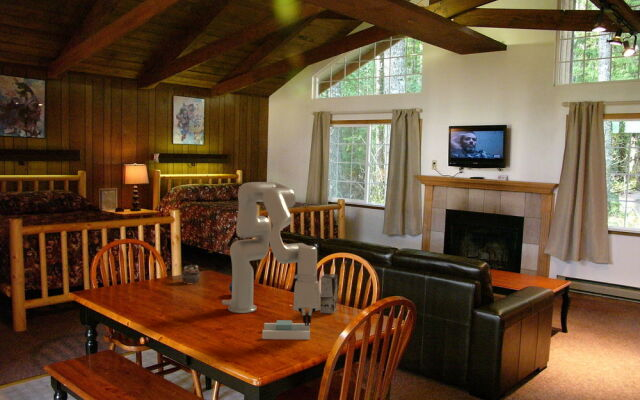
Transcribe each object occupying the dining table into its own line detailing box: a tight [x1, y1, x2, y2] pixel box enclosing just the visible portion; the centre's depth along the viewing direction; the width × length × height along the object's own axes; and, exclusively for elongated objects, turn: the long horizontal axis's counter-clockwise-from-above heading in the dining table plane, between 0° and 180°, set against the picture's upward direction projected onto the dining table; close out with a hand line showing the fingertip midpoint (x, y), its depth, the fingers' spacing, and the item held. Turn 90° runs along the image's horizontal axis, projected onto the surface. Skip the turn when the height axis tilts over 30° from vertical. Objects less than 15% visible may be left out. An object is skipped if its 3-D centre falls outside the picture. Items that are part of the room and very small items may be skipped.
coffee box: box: [319, 273, 339, 315], centre depth 245 cm, size 9×6×16 cm
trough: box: [261, 322, 311, 341], centre depth 210 cm, size 18×10×3 cm, turn 92°
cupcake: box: [181, 263, 200, 283], centre depth 295 cm, size 10×10×10 cm
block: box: [275, 319, 293, 331], centre depth 210 cm, size 6×6×5 cm
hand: (306, 324), depth 210 cm, fingers closed
